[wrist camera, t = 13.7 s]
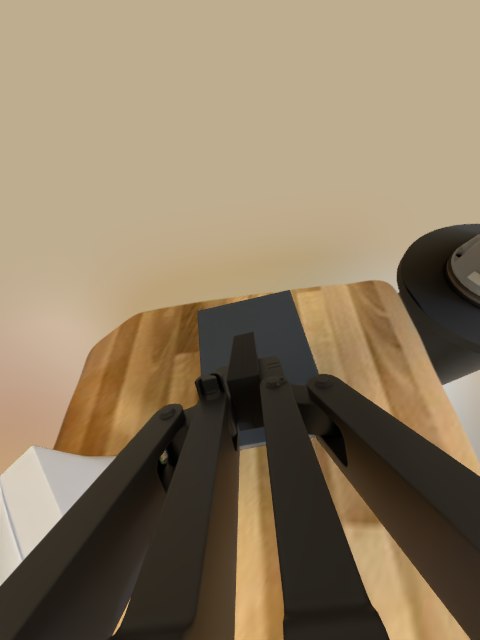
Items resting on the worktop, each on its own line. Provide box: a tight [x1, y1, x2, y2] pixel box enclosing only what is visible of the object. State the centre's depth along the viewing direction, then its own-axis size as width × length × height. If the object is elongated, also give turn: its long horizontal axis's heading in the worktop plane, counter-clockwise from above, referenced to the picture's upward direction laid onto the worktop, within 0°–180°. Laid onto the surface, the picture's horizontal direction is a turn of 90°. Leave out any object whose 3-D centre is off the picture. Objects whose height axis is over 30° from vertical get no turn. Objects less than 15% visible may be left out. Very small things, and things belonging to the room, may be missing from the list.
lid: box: [198, 290, 319, 447], centre depth 25 cm, size 17×13×1 cm
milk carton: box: [0, 445, 163, 586], centre depth 20 cm, size 9×9×20 cm
